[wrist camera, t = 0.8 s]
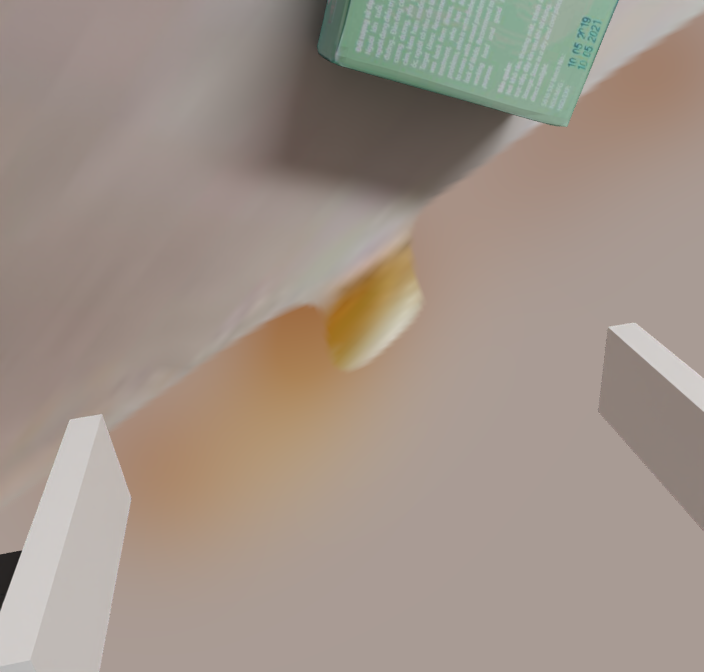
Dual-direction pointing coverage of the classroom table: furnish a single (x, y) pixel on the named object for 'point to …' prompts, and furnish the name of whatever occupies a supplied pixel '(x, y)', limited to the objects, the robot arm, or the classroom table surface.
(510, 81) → the box
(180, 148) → the classroom table surface
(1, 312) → the classroom table surface
